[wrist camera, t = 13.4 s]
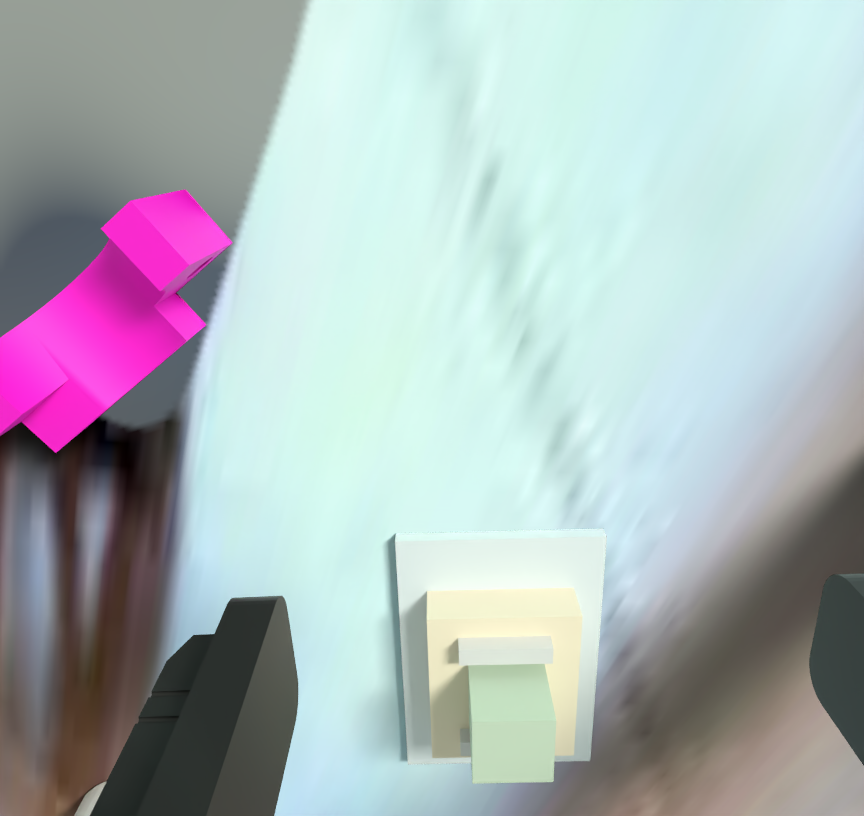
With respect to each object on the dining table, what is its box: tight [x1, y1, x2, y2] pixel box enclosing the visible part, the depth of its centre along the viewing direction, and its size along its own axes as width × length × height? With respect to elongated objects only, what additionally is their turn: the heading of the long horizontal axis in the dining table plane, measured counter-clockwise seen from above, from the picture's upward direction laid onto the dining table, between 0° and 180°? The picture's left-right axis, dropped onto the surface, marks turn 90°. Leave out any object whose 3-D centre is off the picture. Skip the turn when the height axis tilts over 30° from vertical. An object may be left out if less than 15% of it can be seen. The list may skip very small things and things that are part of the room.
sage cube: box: [468, 664, 556, 784], centre depth 44 cm, size 5×5×5 cm
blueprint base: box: [395, 528, 607, 764], centre depth 47 cm, size 14×20×5 cm
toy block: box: [0, 189, 233, 453], centre depth 38 cm, size 15×6×8 cm, turn 128°
